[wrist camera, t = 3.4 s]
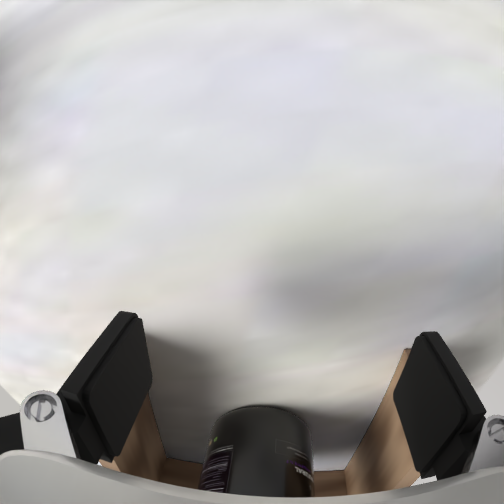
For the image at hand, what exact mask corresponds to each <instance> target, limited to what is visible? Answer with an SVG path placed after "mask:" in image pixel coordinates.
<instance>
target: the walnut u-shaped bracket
mask: <svg viewBox="0 0 504 504" xmlns="http://www.w3.org/2000/svg"><path fill="white" fill-rule="evenodd" d="M410 351H411V349H404V352H403V354H402V357H401V359H400V362H399V364H398V366H397V369H396V371H395V374H394V376H393V378H392V380H391V383H390V385H389V387H388V389H387V392H386V394H385V396H384V398H383V400H382V402H381V404H380V406H379V408H378V410H377V412H376V414H375V416H374V418H373V420H372V422H371V424H370V426H369V428H368V430H367V432H366V434H365V435H364V437H363V439H362V441H361V443H360V445H359V446H358V448H357V450H356V452H355V453H354V455H353V457H352V458H351V460H350V462H349V463H348V465H347V467H346V468H345V470H342V471H320V472H314V491H315V497H333V496H346V495H357V494H366V493H374V492H381V491H388V490H394V489H400V488H405V487H410V486H411V485H412V484H413V483H414V482H415V481H416V480H417V479H418V478H419V477H420V472H417V471H416V470H415V467H414V463H413V460H412V456H411V453H410V450H409V446H408V443H407V440H406V437H405V434H404V431H403V427H402V424H401V421H400V418H399V415H398V412H397V409H396V406H395V403H394V401H393V391H394V389H395V387H396V384H397V382H398V380H399V378H400V375H401V373H402V371H403V368H404V366H405V364H406V361H407V359H408V356H409V354H410ZM99 462H100V463H101V465H102V466H103V467H106V468H109V469H112V470H115V471H119V472H122V473H126V474H129V475H133V476H137V477H141V478H145V479H149V480H153V481H157V482H161V483H166V484H171V485H175V486H180V487H186V488H191V489H198V484H199V480H200V476H201V471H202V467H203V464H199V463H193V462H187V461H182V460H177V459H172V458H167V457H166V454H165V451H164V448H163V444H162V441H161V438H160V435H159V431H158V428H157V424H156V421H155V417H154V414H153V410H152V406H151V403H150V399H149V395H148V393H147V395H146V398H145V400H144V402H143V404H142V406H141V409H140V411H139V413H138V415H137V418H136V420H135V422H134V424H133V427H132V429H131V431H130V433H129V436H128V438H127V440H126V442H125V445H124V447H123V449H122V452H121V454H120V455H119V456H118V457H117V456H115V457H114V459H113V462H112V463H110V462H107V461H104V460H101V459H100V460H99Z"/></svg>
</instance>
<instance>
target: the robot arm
mask: <svg viewBox="0 0 504 504" xmlns="http://www.w3.org/2000/svg"><path fill="white" fill-rule="evenodd" d="M151 384H152V372H151V367H150V362H149V356H148V351H147V346H146V340H145V334H144V328H143V322H142V319H141V318H138V316H137V314H136V313H131V312H124V311H120V312H119V313H118V314H117V315H116V316H115V317H114V319H113V320H112V321H111V322H110V324H109V325H108V326H107V328H106V329H105V330H104V331H103V333H102V334H101V335H100V336H99V338H98V339H97V340H96V342H95V343H94V344H93V346H92V347H91V348H90V349H89V350H88V352H87V353H86V354H85V356H84V357H83V358H82V360H81V361H80V362H79V364H78V365H77V366H76V368H75V369H74V370H73V372H72V373H71V375H70V376H69V377H68V379H67V380H66V381H65V383H64V384H63V386H62V387H61V388H60V390H59V391H58V393H57V394H55V393H53V392H51V391H45V390H42V391H36V392H33V393H31V394H30V395H28V396H27V397H26V398H25V399H24V400H23V401H22V403H21V406H20V413H16V414H12V415H9V416H5V417H1V418H0V504H504V416H501V415H492V416H490V417H488V418H487V419H486V418H485V417H484V415H485V413H486V409H485V408H484V406H483V404H482V402H481V400H480V399H479V397H478V395H477V393H476V392H475V390H474V388H473V387H472V385H471V383H470V382H469V380H468V378H467V377H466V375H465V373H464V372H463V370H462V369H461V367H460V365H459V364H458V362H457V361H456V359H455V357H454V356H453V354H452V353H451V351H450V350H449V348H448V347H447V345H446V344H445V342H444V341H443V339H442V338H441V336H440V335H439V333H438V332H422V333H421V334H420V336H417V337H416V339H415V341H414V344H413V346H412V349H411V351H410V354H409V356H408V359H407V361H406V364H405V366H404V368H403V371H402V373H401V375H400V378H399V380H398V382H397V384H396V387H395V389H394V391H393V401H394V403H395V406H396V409H397V412H398V415H399V418H400V421H401V424H402V427H403V431H404V434H405V437H406V440H407V443H408V446H409V450H410V453H411V456H412V460H413V463H414V467H415V470H416V471H417V472H420V476H421V479H424V478H428V477H432V476H435V475H436V478H437V481H434V482H429V483H425V484H420V485H415V486H410V487H405V488H400V489H394V490H388V491H381V492H374V493H366V494H357V495H346V496H333V497H308V498H284V497H260V496H246V495H235V494H226V493H218V492H210V491H203V490H197V489H191V488H186V487H180V486H175V485H171V484H166V483H161V482H157V481H153V480H149V479H145V478H141V477H137V476H133V475H129V474H126V473H122V472H119V471H115V470H112V469H109V468H106V467H103V466H100V465H96V464H98V462H99V460H100V459H101V460H104V461H107V462H110V463H112V462H113V459H114V457H115V456H117V457H118V456H119V455H120V454H121V452H122V449H123V447H124V445H125V442H126V440H127V438H128V436H129V433H130V431H131V429H132V427H133V424H134V422H135V420H136V418H137V415H138V413H139V411H140V409H141V406H142V404H143V402H144V400H145V398H146V395H147V393H148V391H149V389H150V387H151Z"/></svg>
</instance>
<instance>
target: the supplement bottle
mask: <svg viewBox="0 0 504 504" xmlns="http://www.w3.org/2000/svg"><path fill="white" fill-rule="evenodd" d="M197 490H203V491H210V492H218V493H226V494H235V495H246V496H260V497H284V498H308V497H315V491H314V467H313V448H312V437H311V432H310V430H309V428H308V426H307V425H306V423H305V422H304V421H303V420H301V419H300V418H299V417H297V416H296V415H294V414H292V413H290V412H287V411H284V410H281V409H277V408H271V407H245V408H240V409H236V410H233V411H231V412H228V413H226V414H225V415H223V416H222V417H220V418H219V419H218V420H217V421H216V422H215V424H214V425H213V427H212V430H211V433H210V437H209V441H208V445H207V450H206V454H205V458H204V463H203V467H202V471H201V476H200V480H199V484H198V489H197Z"/></svg>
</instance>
